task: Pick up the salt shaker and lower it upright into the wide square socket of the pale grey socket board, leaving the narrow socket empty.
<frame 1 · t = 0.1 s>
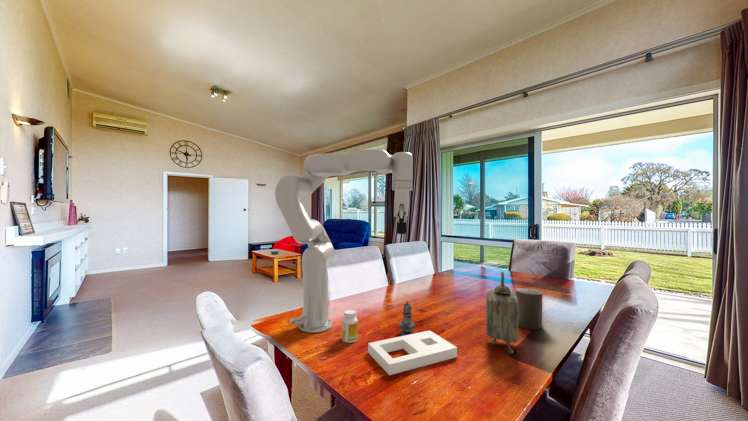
hand: (401, 232, 108), 37 cm above the table, tool pointing down, fingers open, 9 cm apart
supplement bottle: (349, 340, 102), on the table
pillar candle: (528, 325, 117), on the table
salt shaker: (407, 334, 107), on the table
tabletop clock: (500, 346, 99), on the table
socket board: (412, 354, 92), on the table
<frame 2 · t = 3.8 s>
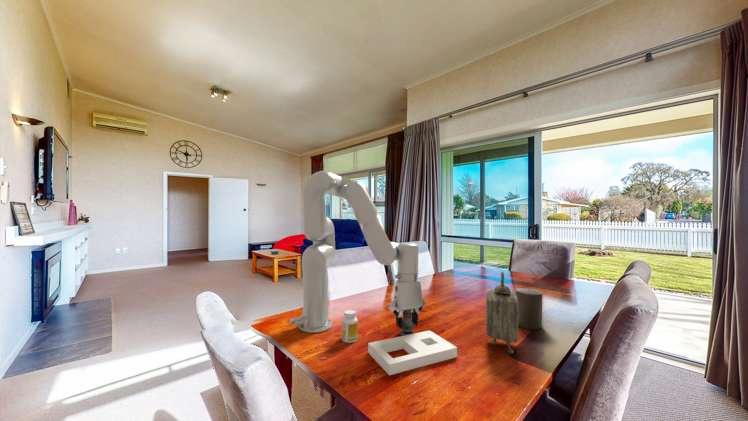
hand: (407, 325, 107), 3 cm above the table, tool pointing down, fingers closed on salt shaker, 5 cm apart
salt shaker: (407, 334, 107), on the table, touching gripper
everything else where it was.
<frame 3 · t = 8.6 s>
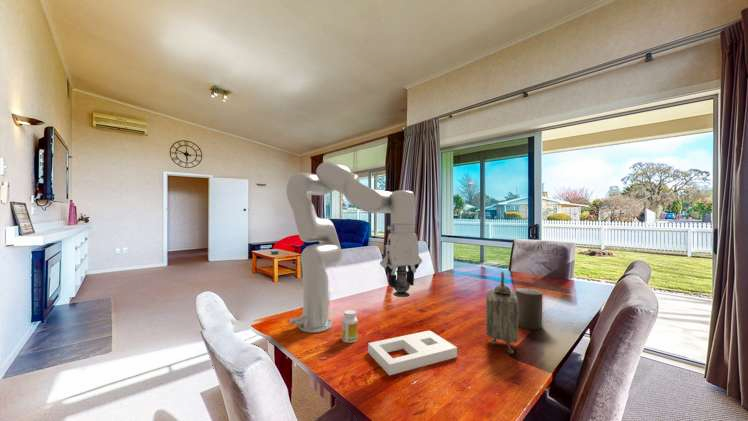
hand: (401, 285, 93), 21 cm above the table, tool pointing down, fingers closed on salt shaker, 5 cm apart
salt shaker: (401, 295, 94), point 18 cm above the table, touching gripper
everything else where it was.
when the fingers open (4 cm above the table, at t = 13.2 s): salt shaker drops 1 cm, resting in socket board.
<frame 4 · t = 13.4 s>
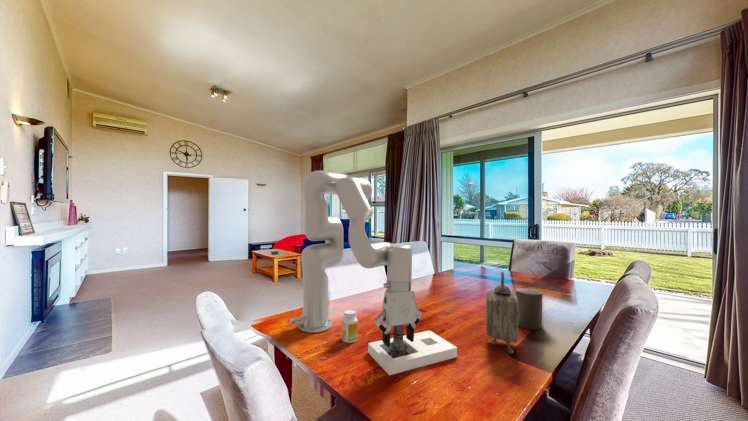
hand: (398, 342, 90), 5 cm above the table, tool pointing down, fingers open, 7 cm apart
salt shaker: (397, 358, 90), resting in socket board
everything else where it was.
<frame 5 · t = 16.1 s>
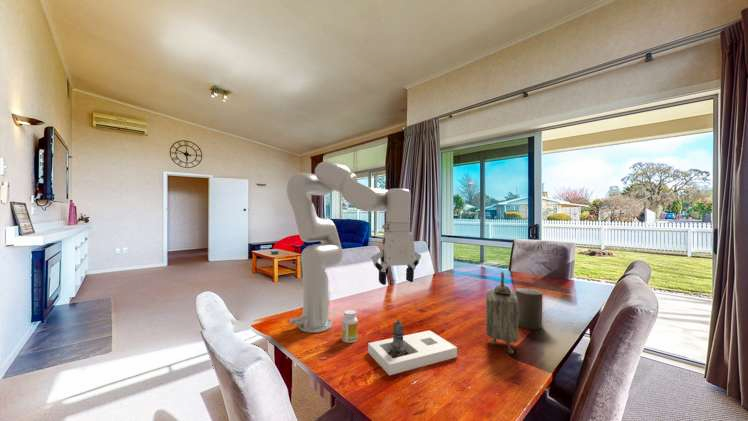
hand: (396, 282, 92), 23 cm above the table, tool pointing down, fingers open, 9 cm apart
nothing on the table moved.
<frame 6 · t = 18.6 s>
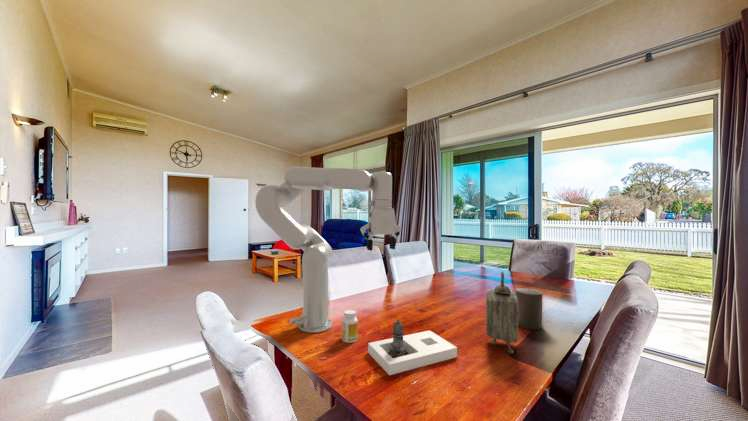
hand: (381, 249, 111), 30 cm above the table, tool pointing down, fingers open, 9 cm apart
nothing on the table moved.
at the end: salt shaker 0.2 cm from the target spot on the socket board, point 0.0 cm above the socket board's base; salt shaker tilted 0°; the gripper is holding nothing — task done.
